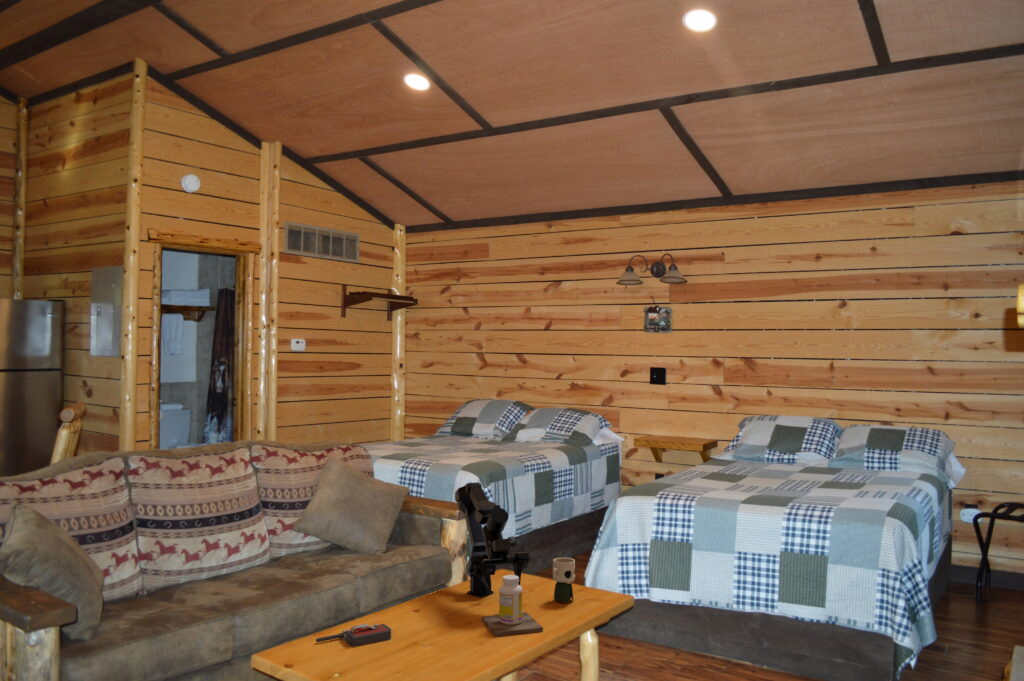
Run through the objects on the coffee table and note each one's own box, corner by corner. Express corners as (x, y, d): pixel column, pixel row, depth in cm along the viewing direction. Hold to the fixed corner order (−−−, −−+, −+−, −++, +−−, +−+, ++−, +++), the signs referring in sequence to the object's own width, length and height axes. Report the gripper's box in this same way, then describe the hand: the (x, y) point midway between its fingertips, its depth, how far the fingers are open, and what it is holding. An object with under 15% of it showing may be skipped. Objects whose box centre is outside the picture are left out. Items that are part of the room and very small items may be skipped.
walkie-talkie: (382, 630, 226) (314, 644, 215) (383, 615, 226) (314, 627, 215) (396, 640, 219) (326, 654, 207) (396, 623, 219) (326, 637, 208)
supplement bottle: (516, 616, 234) (517, 572, 234) (525, 624, 228) (526, 578, 228) (495, 619, 231) (496, 575, 231) (504, 626, 225) (504, 581, 225)
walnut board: (481, 620, 234) (481, 616, 234) (526, 616, 238) (526, 612, 238) (495, 636, 221) (495, 632, 221) (542, 631, 225) (542, 627, 225)
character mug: (562, 607, 247) (562, 565, 247) (544, 602, 252) (544, 561, 252) (582, 599, 255) (583, 558, 256) (564, 595, 260) (565, 555, 260)
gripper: (470, 528, 239) (479, 576, 228) (528, 525, 244) (540, 571, 234) (463, 548, 246) (471, 595, 235) (520, 545, 252) (531, 590, 241)
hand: (504, 587), depth 236 cm, fingers open, 9 cm apart
